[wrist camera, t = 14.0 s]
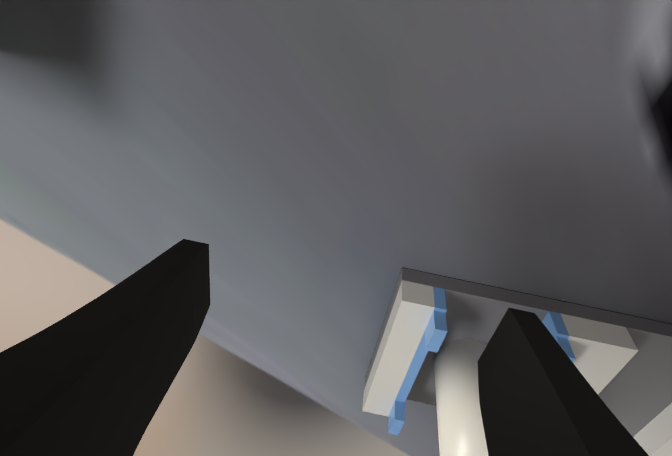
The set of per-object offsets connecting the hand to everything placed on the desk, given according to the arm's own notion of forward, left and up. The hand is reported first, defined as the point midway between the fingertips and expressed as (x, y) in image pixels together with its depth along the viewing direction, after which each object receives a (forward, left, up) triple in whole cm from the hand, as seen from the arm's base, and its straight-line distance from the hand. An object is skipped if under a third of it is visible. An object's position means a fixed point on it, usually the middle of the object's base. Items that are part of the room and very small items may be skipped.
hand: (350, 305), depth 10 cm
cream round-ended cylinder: (-8, +12, -9) cm, 17 cm away
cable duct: (-13, +12, -10) cm, 21 cm away
